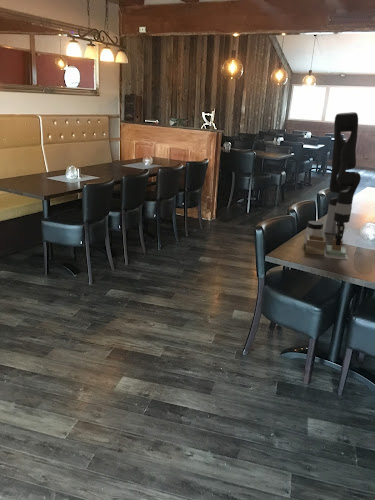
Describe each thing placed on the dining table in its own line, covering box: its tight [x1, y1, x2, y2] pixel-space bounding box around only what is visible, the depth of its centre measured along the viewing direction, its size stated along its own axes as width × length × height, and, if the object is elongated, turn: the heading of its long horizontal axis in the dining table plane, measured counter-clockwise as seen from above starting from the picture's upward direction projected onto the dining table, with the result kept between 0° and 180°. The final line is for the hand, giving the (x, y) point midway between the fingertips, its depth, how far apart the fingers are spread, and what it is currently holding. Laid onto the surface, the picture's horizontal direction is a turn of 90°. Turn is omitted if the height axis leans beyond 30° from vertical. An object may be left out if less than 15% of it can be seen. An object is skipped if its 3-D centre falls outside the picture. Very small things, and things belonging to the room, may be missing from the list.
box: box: [304, 235, 327, 256], centre depth 214 cm, size 9×9×7 cm
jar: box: [303, 220, 324, 245], centre depth 225 cm, size 9×8×12 cm
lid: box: [325, 237, 347, 256], centre depth 211 cm, size 9×9×7 cm
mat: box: [324, 247, 348, 261], centre depth 212 cm, size 15×11×1 cm
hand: (337, 242), depth 210 cm, fingers open, 8 cm apart
